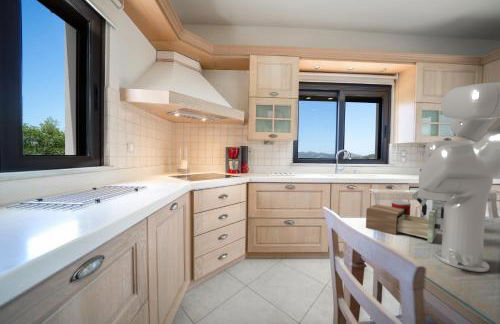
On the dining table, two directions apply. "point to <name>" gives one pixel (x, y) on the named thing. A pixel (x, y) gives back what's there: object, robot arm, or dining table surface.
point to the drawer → (419, 225)
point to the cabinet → (383, 218)
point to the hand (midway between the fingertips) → (433, 215)
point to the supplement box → (430, 206)
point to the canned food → (402, 206)
